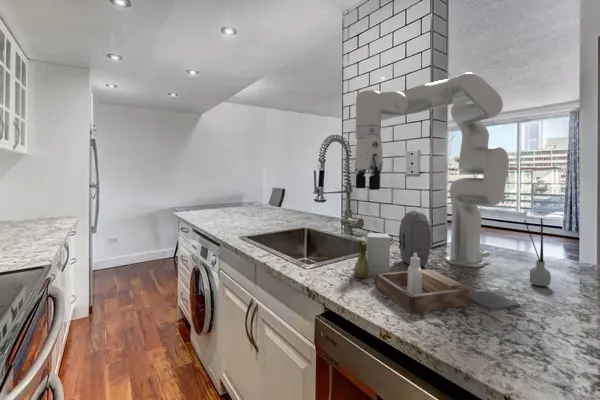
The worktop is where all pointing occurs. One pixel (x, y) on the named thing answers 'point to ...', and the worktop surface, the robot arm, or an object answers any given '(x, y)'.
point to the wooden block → (438, 282)
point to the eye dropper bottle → (414, 276)
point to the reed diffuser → (539, 266)
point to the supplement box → (378, 253)
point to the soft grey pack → (414, 237)
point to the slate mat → (492, 300)
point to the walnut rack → (419, 302)
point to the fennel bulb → (361, 262)
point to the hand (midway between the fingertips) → (367, 188)
